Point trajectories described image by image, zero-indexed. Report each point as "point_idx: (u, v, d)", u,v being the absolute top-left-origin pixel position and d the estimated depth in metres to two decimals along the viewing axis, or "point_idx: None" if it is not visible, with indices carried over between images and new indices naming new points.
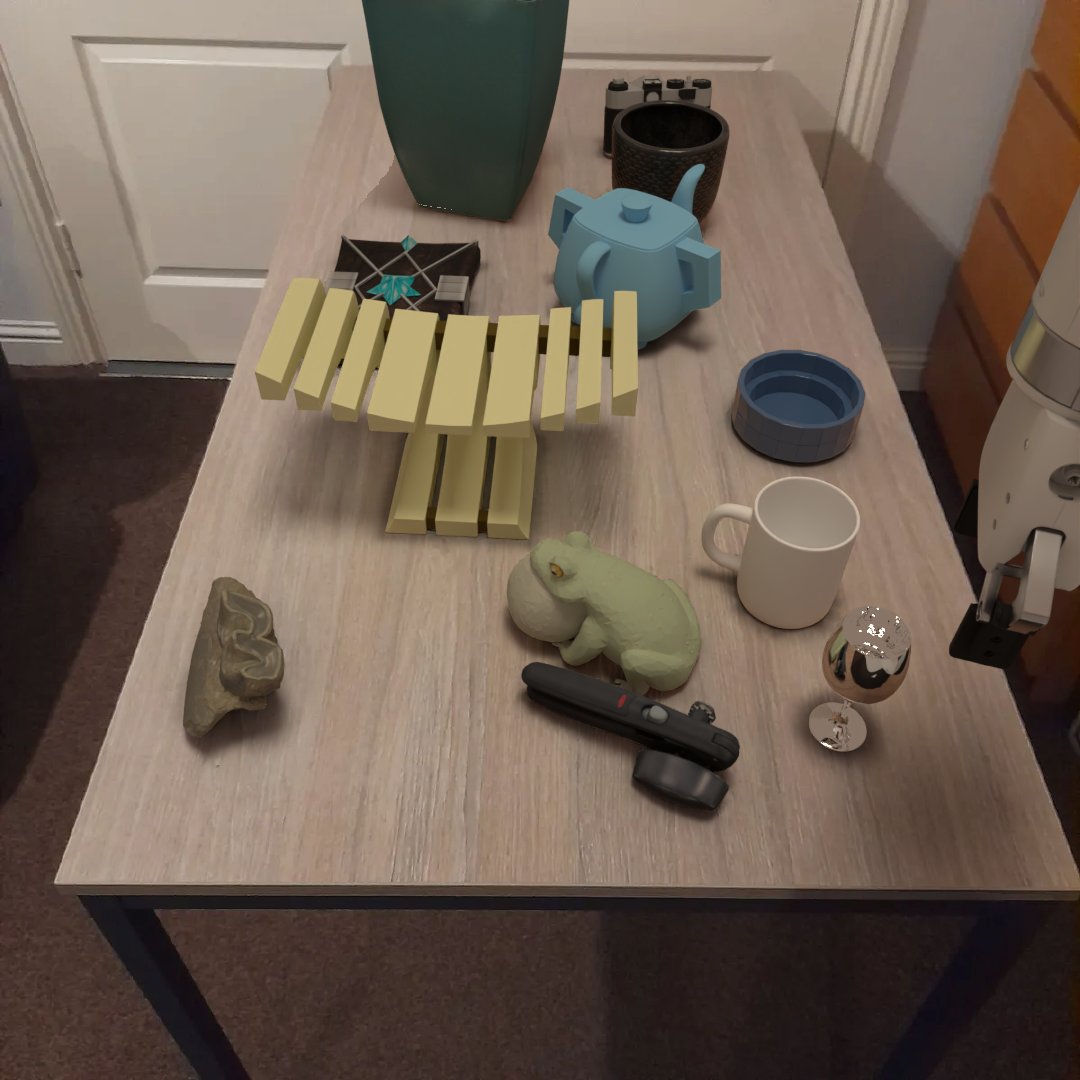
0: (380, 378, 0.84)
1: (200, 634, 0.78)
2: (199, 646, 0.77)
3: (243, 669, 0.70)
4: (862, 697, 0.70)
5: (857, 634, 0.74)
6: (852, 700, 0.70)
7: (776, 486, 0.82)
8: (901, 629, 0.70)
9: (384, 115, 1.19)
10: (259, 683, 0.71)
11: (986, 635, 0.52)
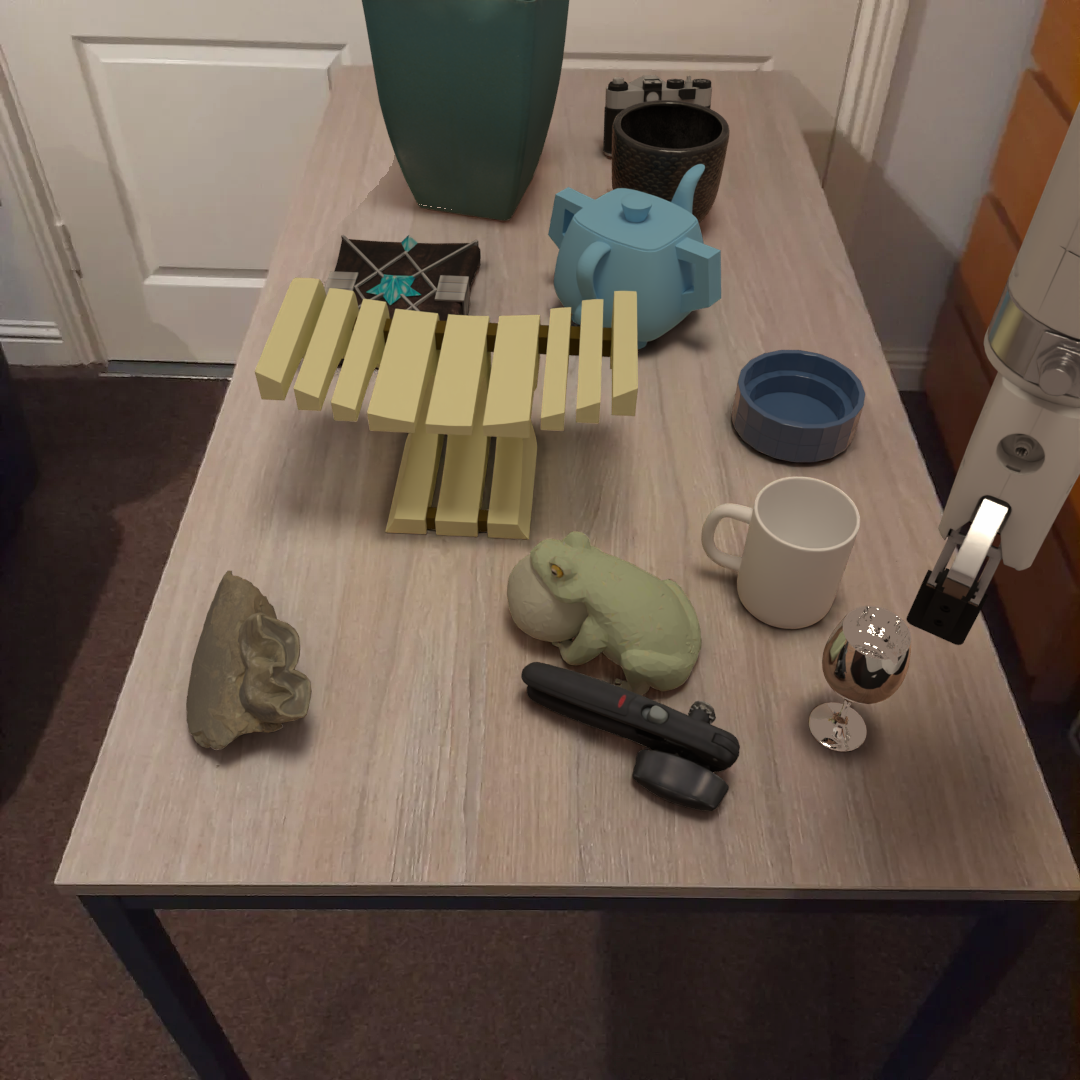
0: (380, 378, 0.84)
1: (212, 638, 0.77)
2: (213, 653, 0.76)
3: (278, 706, 0.71)
4: (862, 697, 0.70)
5: (857, 634, 0.74)
6: (852, 700, 0.70)
7: (776, 486, 0.82)
8: (901, 629, 0.70)
9: (384, 115, 1.19)
10: (289, 719, 0.72)
11: (935, 602, 0.53)
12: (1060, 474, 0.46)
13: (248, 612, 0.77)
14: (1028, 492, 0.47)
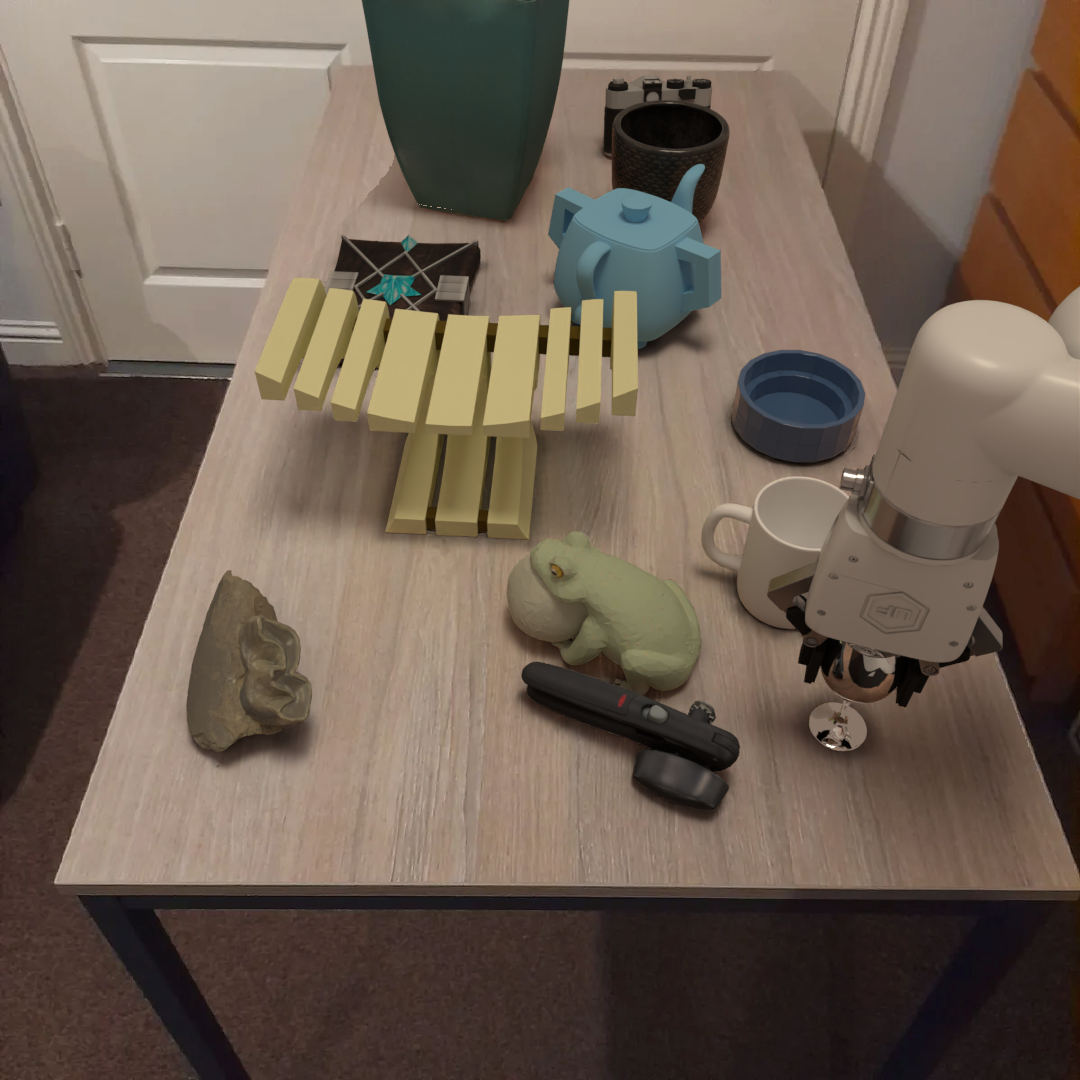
0: (380, 378, 0.84)
1: (212, 639, 0.76)
2: (213, 654, 0.76)
3: (279, 709, 0.71)
4: (860, 696, 0.70)
5: None
6: (850, 699, 0.71)
7: (776, 486, 0.82)
8: None
9: (384, 115, 1.19)
10: (290, 722, 0.72)
11: None
12: (828, 555, 0.62)
13: (248, 613, 0.76)
14: (820, 560, 0.64)
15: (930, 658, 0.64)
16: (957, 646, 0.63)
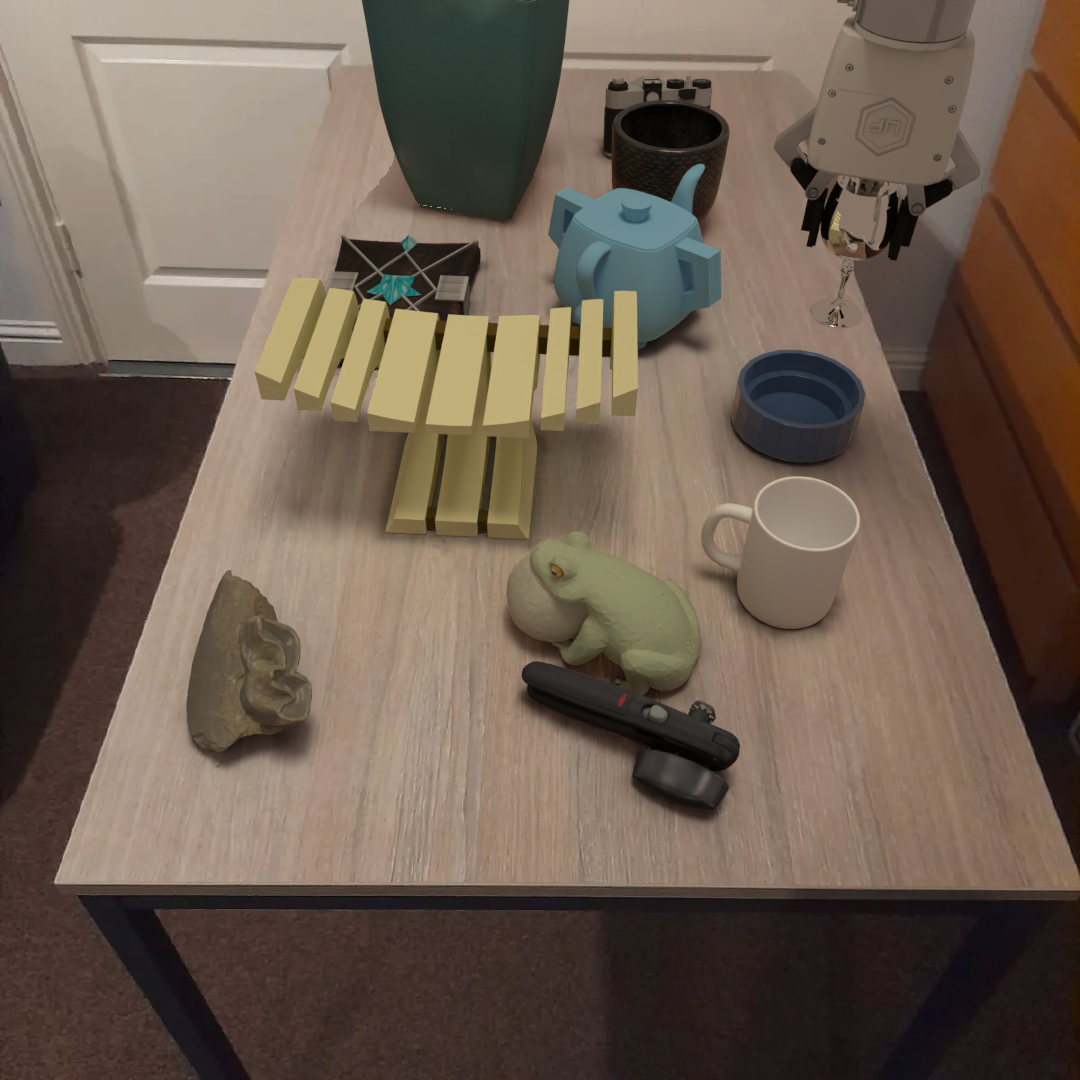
0: (380, 378, 0.84)
1: (212, 639, 0.76)
2: (213, 654, 0.76)
3: (279, 709, 0.71)
4: (856, 245, 0.79)
5: None
6: (847, 253, 0.80)
7: (776, 486, 0.82)
8: (890, 187, 0.79)
9: (384, 115, 1.19)
10: (290, 722, 0.72)
11: None
12: (828, 74, 0.71)
13: (248, 613, 0.76)
14: (821, 88, 0.73)
15: (917, 179, 0.74)
16: (940, 160, 0.72)
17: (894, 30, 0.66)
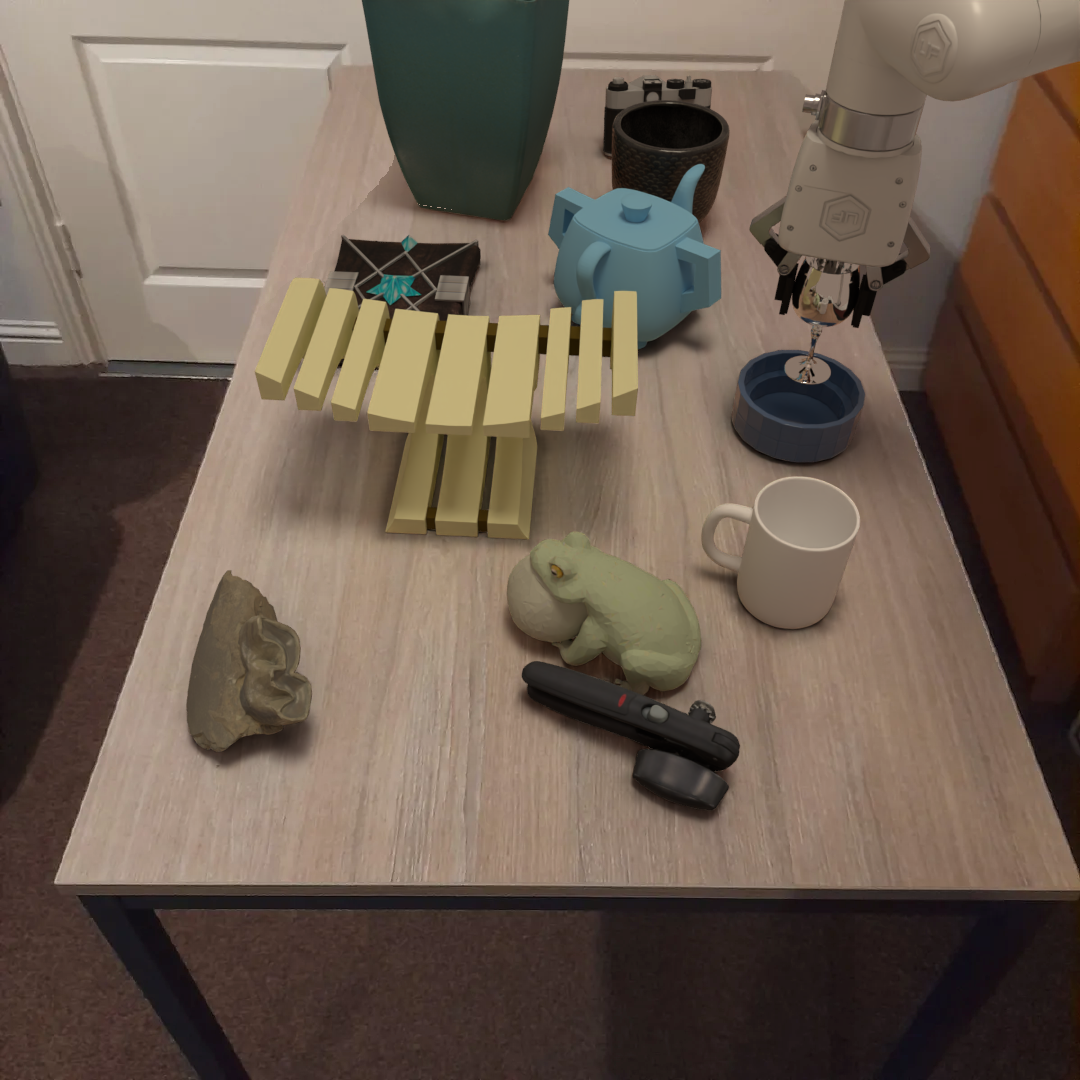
0: (380, 378, 0.84)
1: (212, 639, 0.76)
2: (213, 654, 0.76)
3: (279, 709, 0.71)
4: (822, 315, 0.89)
5: None
6: (815, 321, 0.90)
7: (776, 486, 0.82)
8: None
9: (384, 115, 1.19)
10: (290, 722, 0.72)
11: None
12: (795, 172, 0.81)
13: (248, 613, 0.76)
14: None
15: (874, 262, 0.84)
16: (893, 246, 0.82)
17: (850, 140, 0.77)
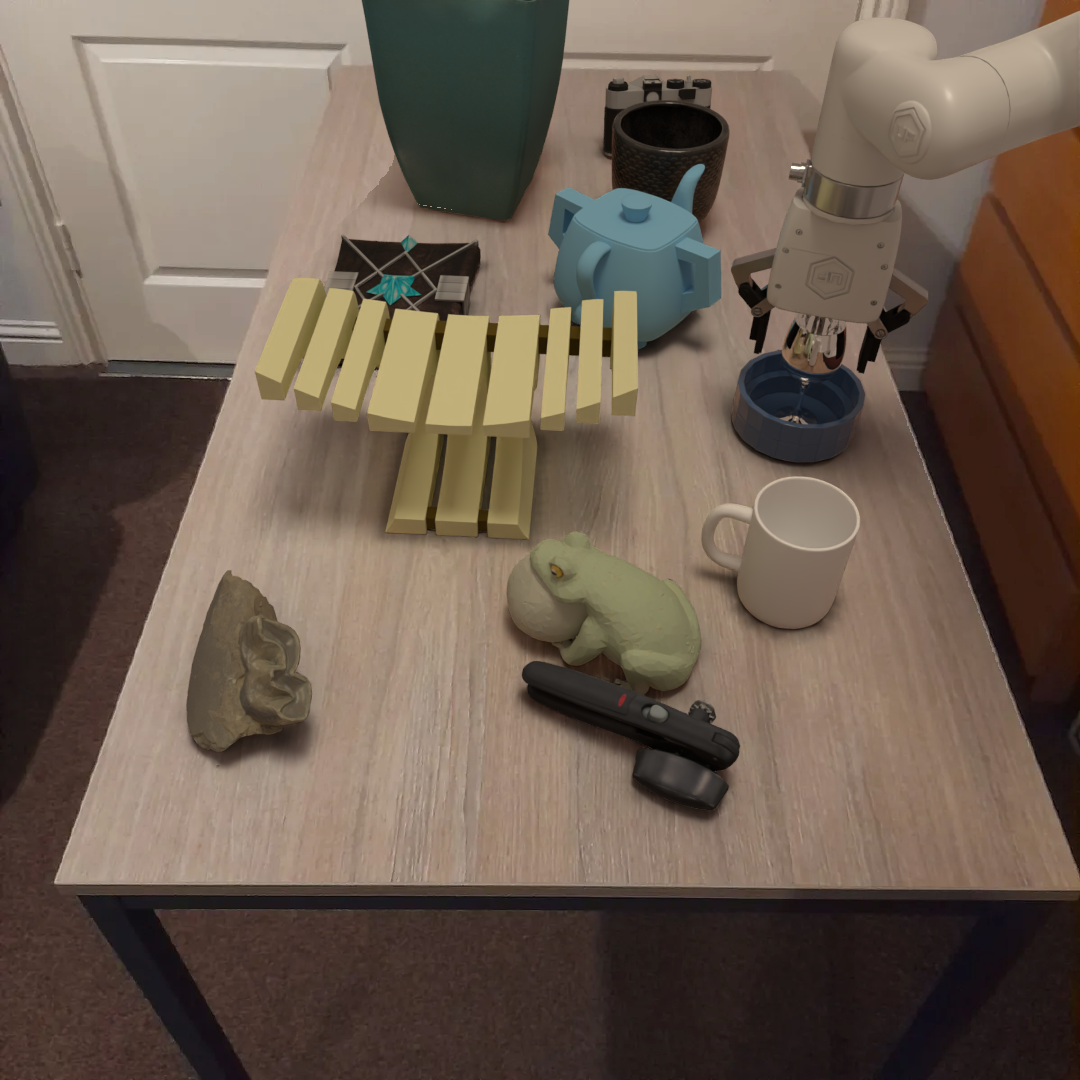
0: (380, 378, 0.84)
1: (212, 639, 0.76)
2: (213, 654, 0.76)
3: (279, 709, 0.71)
4: (810, 372, 0.93)
5: None
6: (803, 378, 0.94)
7: (776, 486, 0.82)
8: (840, 323, 0.94)
9: (384, 115, 1.19)
10: (290, 722, 0.72)
11: None
12: (782, 234, 0.85)
13: (248, 613, 0.76)
14: (777, 244, 0.87)
15: (858, 319, 0.88)
16: (876, 305, 0.87)
17: (834, 208, 0.81)
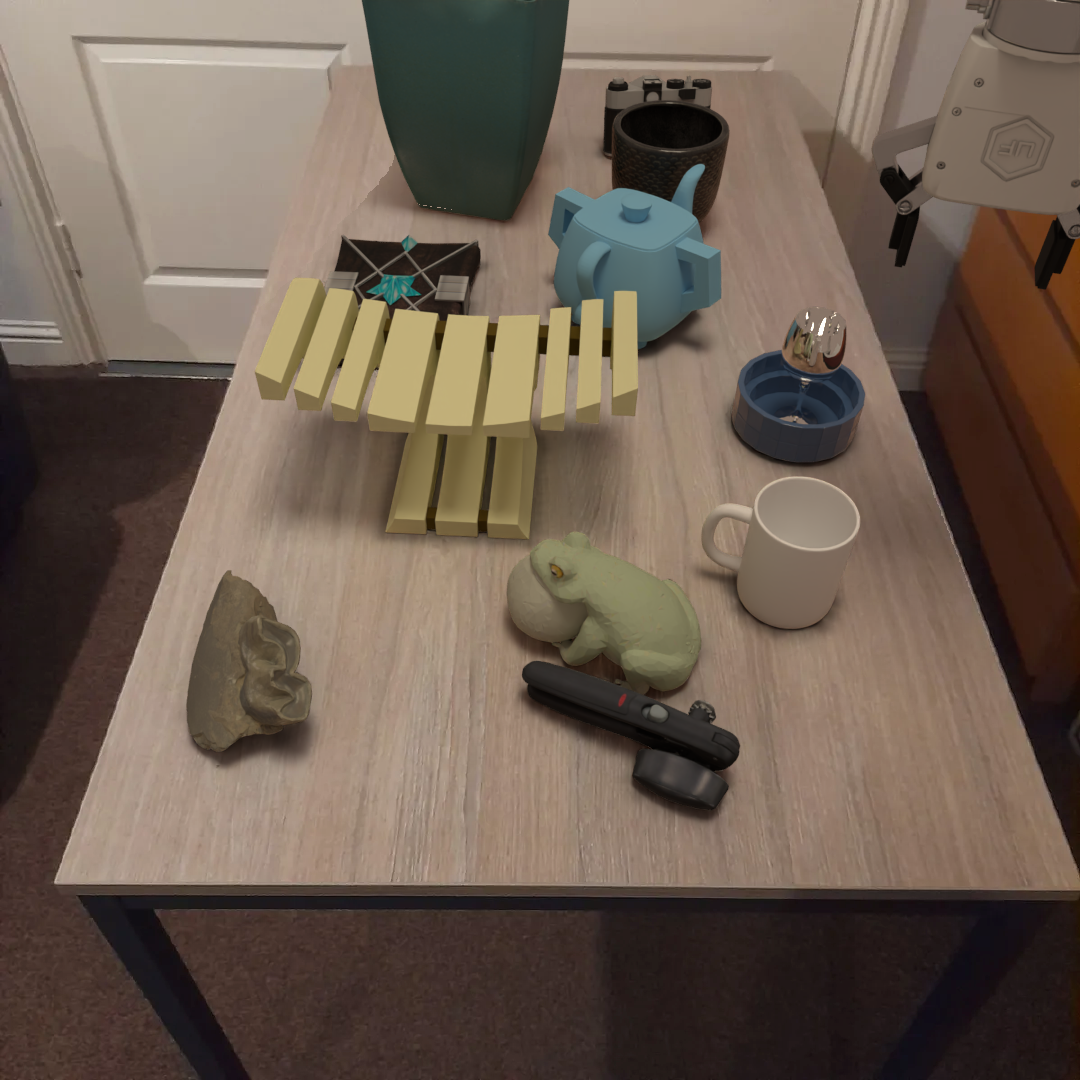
0: (380, 378, 0.84)
1: (212, 639, 0.76)
2: (213, 654, 0.76)
3: (279, 709, 0.71)
4: (810, 372, 0.93)
5: None
6: (803, 378, 0.94)
7: (776, 486, 0.82)
8: (840, 323, 0.94)
9: (384, 115, 1.19)
10: (290, 722, 0.72)
11: (897, 212, 0.72)
12: (952, 90, 0.63)
13: (248, 613, 0.76)
14: (941, 106, 0.64)
15: (1050, 208, 0.65)
16: (1079, 186, 0.64)
17: (1037, 40, 0.58)
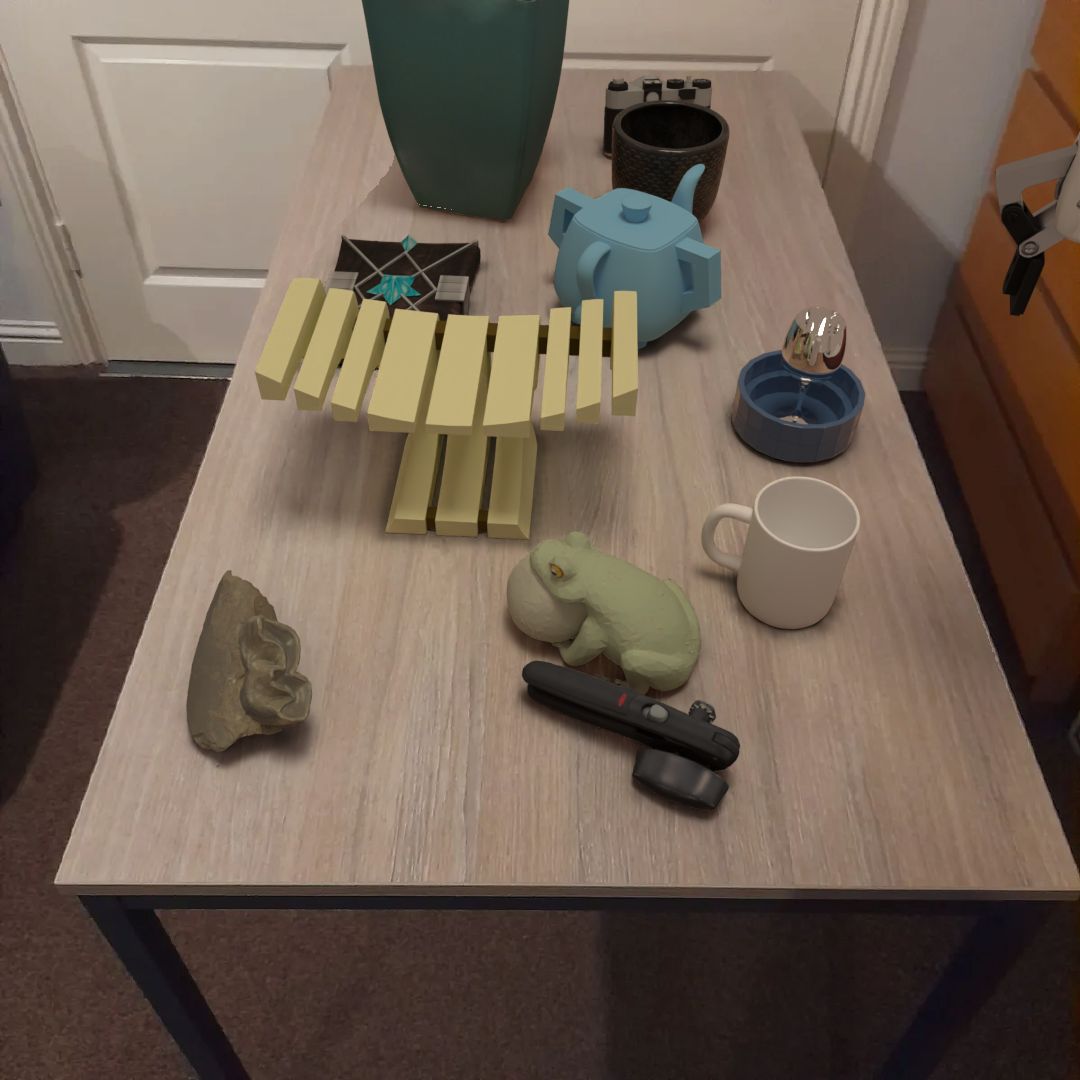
0: (380, 378, 0.84)
1: (212, 639, 0.76)
2: (213, 654, 0.76)
3: (279, 709, 0.71)
4: (810, 372, 0.93)
5: None
6: (803, 378, 0.94)
7: (776, 486, 0.82)
8: (840, 323, 0.94)
9: (384, 115, 1.19)
10: (290, 722, 0.72)
11: (1015, 253, 0.62)
12: None
13: (248, 613, 0.76)
14: None
15: None
16: None
17: None
